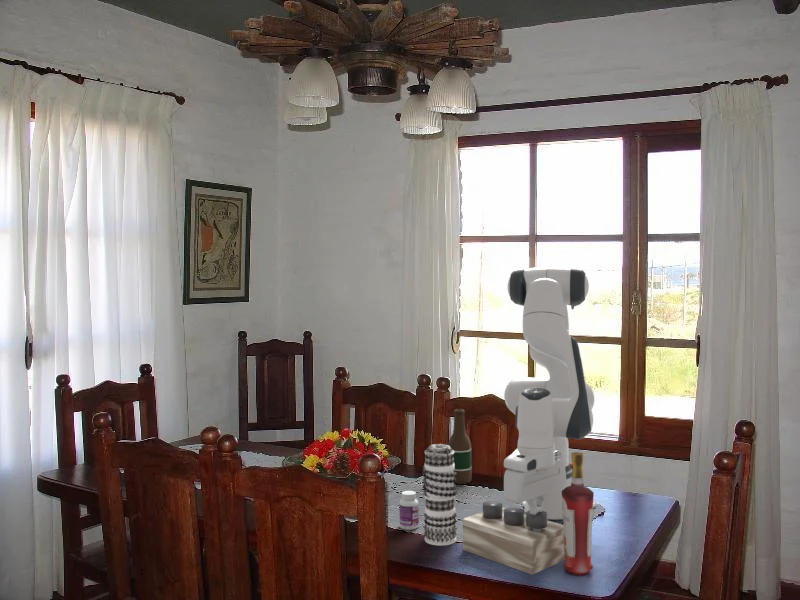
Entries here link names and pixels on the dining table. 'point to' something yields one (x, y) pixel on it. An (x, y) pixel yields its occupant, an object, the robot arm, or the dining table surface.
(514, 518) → the knob
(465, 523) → the console
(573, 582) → the dining table surface
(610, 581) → the dining table surface
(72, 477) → the dining table surface
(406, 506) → the pill bottle
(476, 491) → the dining table surface
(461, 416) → the beer bottle
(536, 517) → the knob
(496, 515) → the knob
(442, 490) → the decorative candle
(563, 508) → the liquor
